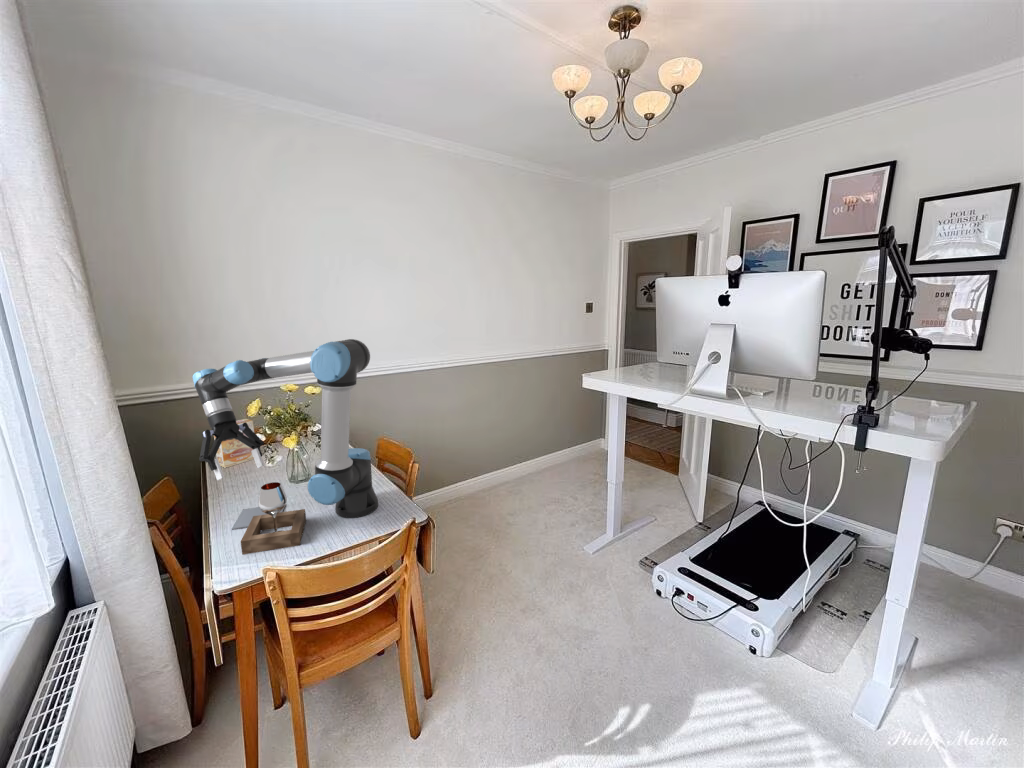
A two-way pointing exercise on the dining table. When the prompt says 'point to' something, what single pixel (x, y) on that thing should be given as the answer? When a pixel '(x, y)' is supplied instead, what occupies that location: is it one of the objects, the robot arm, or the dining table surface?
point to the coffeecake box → (235, 449)
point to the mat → (247, 517)
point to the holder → (274, 540)
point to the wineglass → (272, 500)
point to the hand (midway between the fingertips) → (241, 472)
